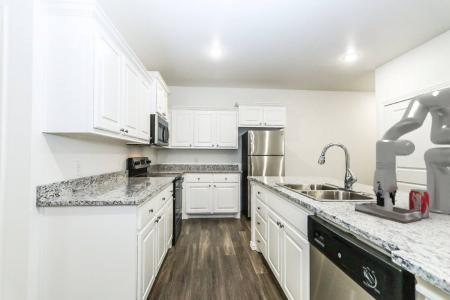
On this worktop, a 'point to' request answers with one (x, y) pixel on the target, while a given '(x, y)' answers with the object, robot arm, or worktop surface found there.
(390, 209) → the downlight
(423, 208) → the soda can
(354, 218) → the worktop surface
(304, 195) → the worktop surface
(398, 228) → the worktop surface
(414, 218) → the silver picture frame
